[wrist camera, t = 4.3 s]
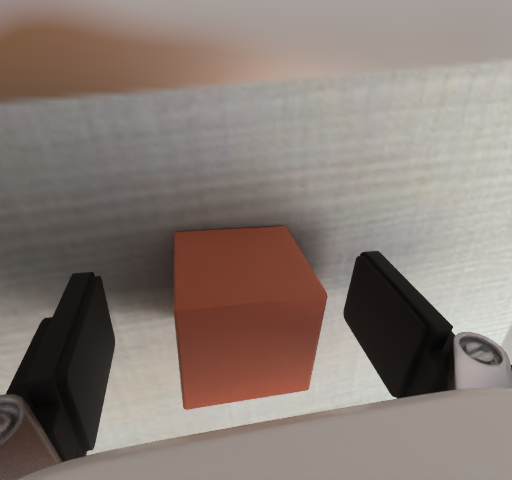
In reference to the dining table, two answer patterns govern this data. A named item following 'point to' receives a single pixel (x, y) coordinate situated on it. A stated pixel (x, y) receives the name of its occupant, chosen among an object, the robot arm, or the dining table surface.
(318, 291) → the block
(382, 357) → the robot arm
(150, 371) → the dining table surface
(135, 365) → the dining table surface
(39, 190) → the dining table surface
